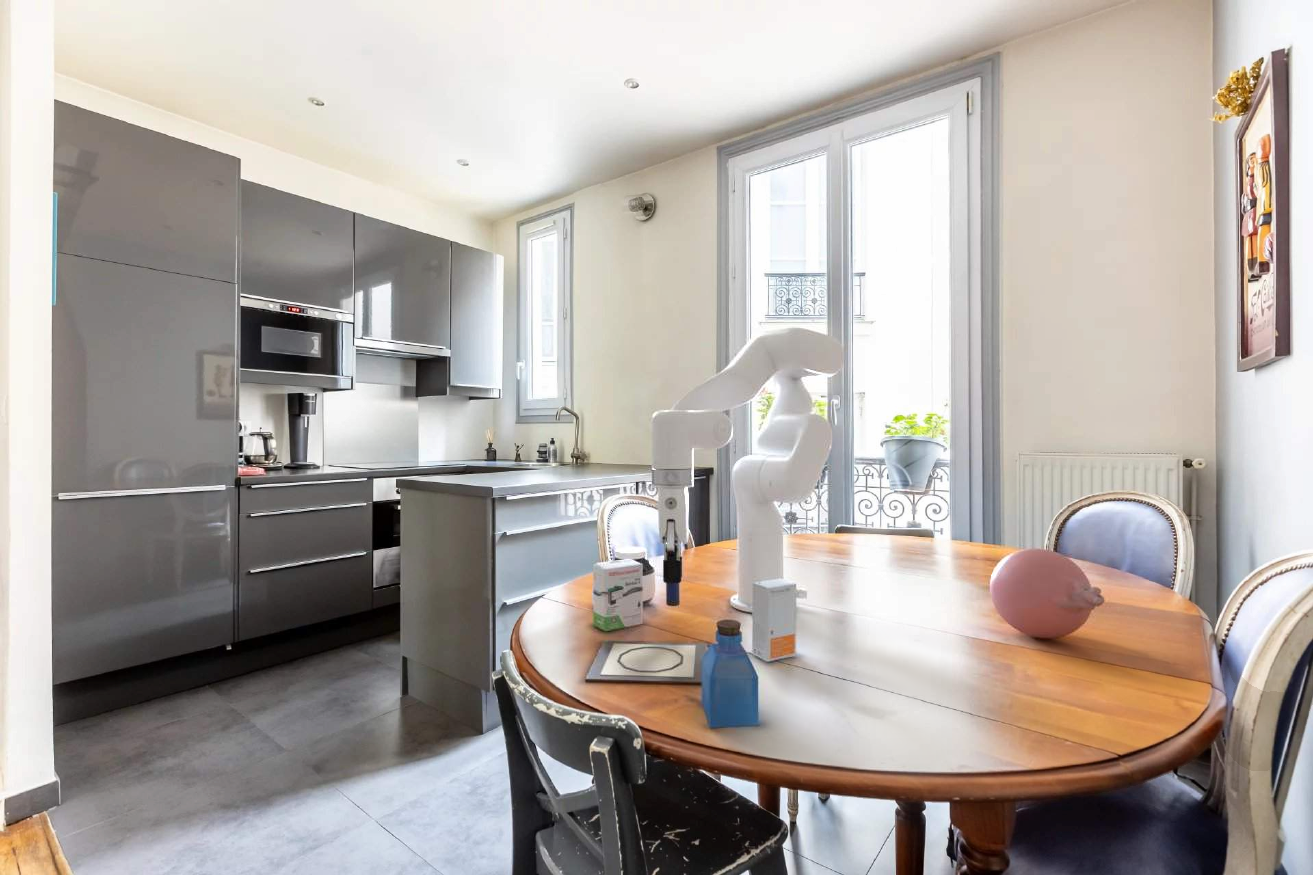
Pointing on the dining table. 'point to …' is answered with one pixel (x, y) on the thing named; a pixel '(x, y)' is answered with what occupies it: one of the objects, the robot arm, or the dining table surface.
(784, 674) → the dining table surface
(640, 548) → the spread jar
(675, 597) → the marker
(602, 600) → the ink box
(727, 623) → the perfume bottle
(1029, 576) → the balloon
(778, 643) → the cosmetic box
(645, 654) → the drawing board
